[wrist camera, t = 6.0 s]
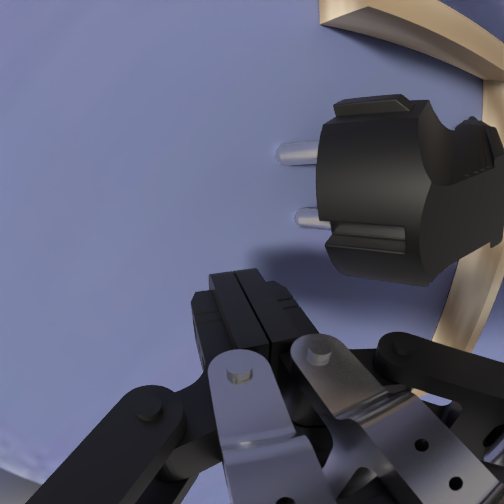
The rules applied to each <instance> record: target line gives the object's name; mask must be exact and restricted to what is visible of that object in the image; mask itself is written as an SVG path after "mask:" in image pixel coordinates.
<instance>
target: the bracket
mask: <svg viewBox="0 0 504 504" xmlns="http://www.w3.org/2000/svg"><path fill="white" fill-rule="evenodd" d="M319 13H320V24H321V25H326V26H331V27H335V28H340V29H344V30H349V31H353V32H357V33H361V34H365V35H368V36H372V37H376V38H379V39H383V40H386V41H389V42H392V43H395V44H399V45H402V46H405V47H407V48H410V49H413V50H416V51H419V52H421V53H424V54H427V55H429V56H432V57H434V58H437V59H439V60H442V61H444V62H446V63H449V64H451V65H453V66H456V67H458V68H460V69H462V70H464V71H466V72H469V73H471V74H473V75H475V76H477V77H479V78H481V79H483V113H482V121H483V122H485V123H486V124H488V125H489V126H491V127H496V129H497V131H498V134H499V136H500V139H501V142H502V144H503V147H504V43H503V42H501V41H500V40H499V39H497V38H496V37H495V36H493V35H492V34H491V33H489V32H488V31H486V30H485V29H483V28H482V27H481V26H479V25H478V24H476V23H475V22H473V21H472V20H470V19H468V18H467V17H465V16H464V15H462V14H460V13H459V12H457V11H455V10H454V9H452V8H450V7H449V6H447V5H445V4H443V3H442V2H440V1H438V0H319ZM503 277H504V232H503V239H502V241H501V243H499V244H498V245H496V246H495V247H493V248H490V242H489V243H488V244H486V245H484V246H482V247H481V248H479V249H477V250H475V251H474V252H472V253H470V254H468V255H467V256H465V257H463V258H461V259H459V262H458V266H457V269H456V273H455V276H454V279H453V283H452V286H451V289H450V292H449V295H448V298H447V301H446V304H445V307H444V310H443V313H442V315H441V318H440V321H439V323H438V326H437V329H436V331H435V334H434V336H433V339H432V341H434V342H437V343H440V344H443V345H446V346H449V347H453V348H456V349H459V350H462V351H466V352H469V353H472V351H473V349H474V347H475V345H476V343H477V341H478V338H479V336H480V334H481V332H482V330H483V328H484V325H485V323H486V321H487V318H488V316H489V314H490V311H491V309H492V306H493V304H494V301H495V299H496V296H497V293H498V291H499V288H500V285H501V282H502V279H503ZM411 392H412V393H414V394H415V395H416V396H418V397H421V396H422V395H424V394H426V393H427V392H424V391H421V390H417V389H414V388H413V389H412V391H411Z"/></svg>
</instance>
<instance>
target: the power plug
mask: <svg viewBox="0 0 504 504" xmlns="http://www.w3.org/2000/svg"><path fill="white" fill-rule="evenodd" d="M333 107H334V111H335V114H336V117H335V118H333V119H331V120H330V121H328V122H327V123H325V124H323V128H322V131H321V135H320V140H317V141H307V142H297V143H288V144H283V145H280V146H279V147H278V148H277V150H276V159H277V161H278V162H279V163H280V164H282V165H287V166H288V165H303V164H316V196H317V208H302V209H299V210H298V211H297V212H296V214H295V223H296V225H297V226H299V227H300V228H305V229H318V230H331V231H332V235H331V237H330V238H329V239H328V241H327V242H326V243H325V247H326V250H327V253H328V255H329V257H330V260H331V261H332V263H333V265H334V266H335V268H336V269H337V270H338V271H339V272H340V273H342V274H344V275H347V276H354V277H361V278H367V279H374V280H381V281H388V282H395V283H402V284H409V285H415V286H422V287H427V286H428V284H429V283H430V282H432V281H433V280H434V279H435V278H436V277H437V275H438V274H439V273H441V272H442V271H443V270H444V269H445V268H446V267H447V266H448V265H450V264H452V263H454V262H456V261H458V260H459V259H461V258H463V257H465V256H467V255H468V254H470V253H472V252H474V251H475V250H477V249H479V248H481V247H482V246H484V245H486V244H488V243H489V242H490V248H493V247H495V246H496V245H498V244H499V243H501V241H502V239H503V232H504V147H503V144H502V142H501V139H500V136H499V134H498V131H497V129H496V127H491V126H489V125H488V124H486V123H485V122H483V121H478V120H477V119H476V118H475V117H473V116H471V117H470V118H469V119H468V120H464V121H463V122H462V123H461V124H459V125H458V126H457V127H456V128H455V131H452V130H449V129H448V128H446V127H445V126H444V125H443V124H442V123H441V122H440V121H439V119H438V117H437V116H436V114H435V112H434V111H433V108H432V106H431V104H430V101H429V100H411V101H409V100H408V99H407V98H406V97H404V96H403V95H402V94H395V95H382V96H371V97H362V98H353V99H344V100H342V101H340V102H338V103H336V104H334V105H333Z"/></svg>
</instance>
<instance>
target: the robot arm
mask: <svg viewBox="0 0 504 504" xmlns="http://www.w3.org/2000/svg"><path fill="white" fill-rule="evenodd" d="M191 308H192V316H193V324H194V332H195V340H196V344H197V348H198V352H199V357H200V361H201V365H202V369H203V373H202V375H201V377H200V378H199V379H198V380H197V381H196V382H195V383H193V384H192V385H190V386H188V387H186V388H184V389H182V390H180V391H177V392H173V391H172V390H170V389H168V388H166V387H163V386H158V385H146V386H141V387H138V388H135V389H133V390H131V391H130V392H128V393H127V394H126V395H125V396H123V397H122V399H121V400H120V401H119V402H118V403H117V404H116V405H115V406H114V407H113V408H112V410H111V411H110V412H109V413H108V414H107V415H106V416H105V417H104V418H103V419H102V420H101V422H100V423H99V424H98V425H97V426H96V427H95V428H94V429H93V430H92V431H91V432H90V434H89V435H88V436H87V437H86V438H85V439H84V440H83V441H82V442H81V443H80V444H79V446H78V447H77V448H76V449H75V450H74V451H73V452H72V453H71V454H70V455H69V456H68V458H67V459H66V460H65V461H64V462H63V463H62V464H61V465H60V466H59V467H58V468H57V470H56V471H55V472H54V473H53V474H52V475H51V476H50V477H49V478H48V479H47V480H46V482H45V483H44V484H43V485H42V486H41V487H40V488H39V489H38V490H37V491H36V492H35V494H34V495H33V496H32V497H31V498H30V499H29V500H28V501H27V502H26V503H25V504H181V502H182V501H183V499H184V497H185V496H186V494H187V493H188V491H189V490H190V488H191V486H192V485H193V483H194V482H195V480H196V479H197V477H198V475H199V473H200V472H202V471H204V470H206V469H208V468H210V467H212V466H214V465H216V464H218V463H219V462H221V461H222V465H223V470H224V474H225V479H226V484H227V488H228V493H229V498H230V502H231V504H504V363H502V362H499V361H495V360H492V359H489V358H485V357H482V356H479V355H475V354H472V353H469V352H466V351H462V350H459V349H456V348H453V347H449V346H446V345H443V344H440V343H437V342H434V341H430V340H427V339H424V338H421V337H418V336H415V335H412V334H408V333H404V332H391V333H388V334H386V335H384V336H383V337H382V338H381V339H380V340H379V343H378V346H377V349H348V348H347V347H346V346H345V345H344V344H343V343H342V342H341V341H340V340H338V339H336V338H334V337H332V336H329V335H325V334H320V333H319V332H318V331H317V329H316V328H315V326H314V325H313V324H312V322H311V321H310V320H309V318H308V317H307V316H306V314H305V313H304V312H303V310H302V309H301V307H299V305H298V303H297V302H296V301H295V299H293V297H292V295H291V294H290V293H289V291H288V290H287V289H286V288H285V287H284V286H282V285H280V284H279V283H277V282H275V281H269V282H265V280H264V279H263V277H262V276H261V274H260V273H259V271H258V270H257V269H256V268H253V269H245V270H238V271H233V272H232V271H231V272H223V273H216V274H209V290H207V291H200V292H195V294H194V296H193V299H192V301H191ZM413 388H414V389H417V390H421V391H424V392H427V393H430V394H433V395H436V396H439V397H443V398H446V399H449V400H452V402H451V403H450V404H448V405H445V406H439V405H435V404H432V403H429V402H426V401H423V400H421V399H420V398H419V397H418V396H416V395H415V394H414V393H412V392H411V391H412V389H413Z"/></svg>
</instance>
